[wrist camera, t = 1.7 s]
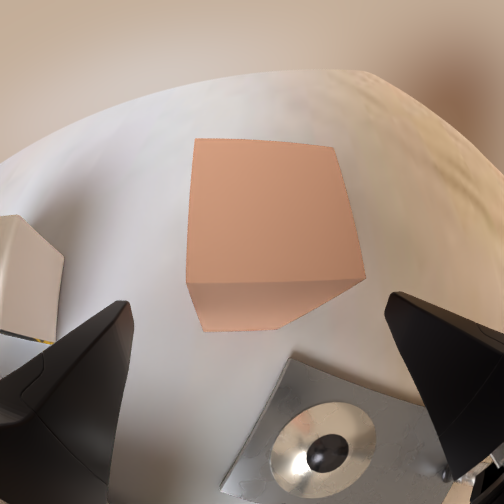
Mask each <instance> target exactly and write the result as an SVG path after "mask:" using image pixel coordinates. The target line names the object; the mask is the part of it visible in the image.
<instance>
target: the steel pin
mask: <svg viewBox="0 0 504 504" xmlns="http://www.w3.org/2000/svg"><path fill="white" fill-rule="evenodd" d="M489 464H490V463H485V462H480V463H479V464H478V465H476V466H475V467H474V468H473V469H471V470H470V471H469V472H467V473H466V474H465V475H463V476H462V477H461V478H459V479H458V480H456V481H454V480H453V478H452V475H451V472H450V469H449V466H448V468H447V470H446V473H445V478H446V480H449V481H453V482H457V483H460V484H464V485H468V486H474V481H475V477H476V475H478V474H479V473H480V472H481V471H482V470H484V469H485V468H486V467H487V466H488V465H489Z"/></svg>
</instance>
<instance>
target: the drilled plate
mask: <svg viewBox="0 0 504 504" xmlns="http://www.w3.org/2000/svg"><path fill="white" fill-rule="evenodd" d="M447 468H448V463H447V460H446V457H445V455H444V452H443V449H442V447H441V444H440V441H439V439H438V436H437V433H436V431H435V428H434V426H433V423H432V421H431V418H430V416H429V414H428V411H427V409H426V407H423V406H419V405H416V404H413V403H409V402H406V401H403V400H400V399H397V398H394V397H391V396H388V395H385V394H382V393H379V392H376V391H373V390H370V389H367V388H365V387H362V386H359V385H356V384H354V383H351V382H348V381H346V380H343V379H341V378H338V377H336V376H333V375H330V374H328V373H326V372H323V371H321V370H318V369H316V368H313V367H311V366H309V365H306V364H304V363H302V362H299V361H297V360H295V359H292V358H289V359H288V361H287V363H286V365H285V367H284V369H283V371H282V374H281V376H280V378H279V380H278V382H277V384H276V386H275V388H274V390H273V392H272V394H271V396H270V398H269V400H268V402H267V404H266V406H265V408H264V410H263V412H262V414H261V416H260V418H259V419H258V421H257V423H256V425H255V427H254V429H253V431H252V432H251V434H250V436H249V438H248V440H247V442H246V443H245V445H244V447H243V449H242V450H241V452H240V454H239V456H238V457H237V459H236V461H235V462H234V464H233V466H232V467H231V469H230V471H229V472H228V474H227V476H226V477H225V479H224V481H223V482H222V484H221V485H220V492H223V493H226V494H229V495H232V496H235V497H238V498H241V499H245V500H248V501H252V502H255V503H259V504H442V502H443V500H444V499H445V497H446V495H447V493H448V491H449V490H450V488H451V486H452V484H453V481H449V480H446V478H445V473H446V470H447Z"/></svg>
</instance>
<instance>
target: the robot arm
mask: <svg viewBox="0 0 504 504" xmlns="http://www.w3.org/2000/svg"><path fill="white" fill-rule="evenodd" d="M384 315H385V319H386V321H387V323H388V326H389V328H390V331H391V333H392V336H393V338H394V341H395V343H396V345H397V348H398V350H399V352H400V354H401V356H402V358H403V360H404V362H405V364H406V366H407V368H408V370H409V372H410V374H411V376H412V378H413V381H414V383H415V385H416V387H417V389H418V391H419V393H420V396H421V398H422V400H423V402H424V405H425V407H426V409H427V411H428V414H429V416H430V418H431V421H432V423H433V426H434V428H435V431H436V433H437V436H438V439H439V441H440V444H441V447H442V449H443V452H444V455H445V457H446V460H447V463H448V466H449V469H450V472H451V475H452V478H453V480H454V481H456V480H458V479H459V478H461V477H462V476H463V475H465V474H466V473H467V472H469V471H470V470H471V469H473V468H474V467H475V466H476V465H478V464H479V463H480V462H481V461H483V460H484V459H485V458H486V457H487V456H489V455H490V457H491V458H492V460H493V462H491V463H490V464H489V465H488V466H487V467H486V468H485V469H484V470H482V471H481V472H480V473H479V474H478V475H476V477H475V481H474V486H473V490H472V494H471V498H470V504H504V334H503V333H500V332H498V331H495V330H493V329H490V328H488V327H485V326H483V325H481V324H478V323H475V322H474V321H471V320H469V319H466V318H464V317H462V316H459V315H457V314H455V313H452V312H450V311H447V310H445V309H443V308H440V307H438V306H435V305H433V304H431V303H428V302H426V301H423V300H421V299H418V298H416V297H414V296H411V295H409V294H406V293H404V292H400V291H399V292H392V293H391V294H390V296H389V299H388V302H387V305H386V308H385V312H384ZM133 334H134V320H133V316H132V311H131V306H130V303H129V302H128V301H115V302H114V303H112V304H111V305H109V306H108V307H106V308H105V309H103V310H102V311H100V312H99V313H97V314H96V315H94V316H93V317H91V318H90V319H88V320H87V321H86V322H84V323H83V324H81V325H80V326H78V327H77V328H75V329H74V330H72V331H71V332H70V333H68V334H67V335H65V336H64V337H62V338H61V339H60V340H58V341H57V342H55V343H54V344H53V345H51V346H50V347H48V348H47V349H46V350H44V351H43V353H40V354H39V355H37V356H36V357H34V358H33V359H32V360H30V361H29V362H27V363H26V364H24V365H23V366H22V367H20V368H18V369H17V370H15V371H14V372H12V373H11V374H9V375H7V376H6V377H4V378H3V379H1V380H0V504H107V496H108V484H109V475H110V467H111V459H112V452H113V446H114V439H115V433H116V428H117V422H118V417H119V412H120V407H121V402H122V397H123V392H124V388H125V383H126V379H127V375H128V370H129V364H130V356H131V348H132V340H133Z"/></svg>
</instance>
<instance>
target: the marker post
mask: <svg viewBox="0 0 504 504" xmlns="http://www.w3.org/2000/svg"><path fill="white" fill-rule="evenodd" d="M364 279H366V275H365V270H364V265H363V260H362V255H361V250H360V245H359V240H358V236H357V231H356V227H355V223H354V219H353V215H352V211H351V207H350V203H349V199H348V195H347V192H346V188H345V184H344V181H343V177H342V174H341V171H340V167H339V164H338V161H337V157H336V154H335V151H334V148H332V147H324V146H316V145H308V144H299V143H289V142H277V141H263V140H245V139H195V143H194V152H193V163H192V174H191V186H190V199H189V215H188V234H187V259H186V285H187V287H188V290H189V293H190V296H191V299H192V302H193V304H194V307H195V310H196V312H197V315H198V318H199V320H200V323H201V326H202V328H203V331H204V332H227V331H256V330H275V329H279V328H281V327H283V326H284V325H286V324H288V323H290V322H292V321H294V320H296V319H297V318H299V317H301V316H303V315H305V314H307V313H308V312H310V311H312V310H314V309H315V308H317V307H319V306H321V305H323V304H324V303H326V302H328V301H329V300H331V299H333V298H335V297H336V296H338V295H340V294H341V293H343V292H345V291H346V290H348V289H350V288H351V287H353V286H355V285H356V284H358V283H359V282H361V281H363V280H364Z"/></svg>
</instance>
